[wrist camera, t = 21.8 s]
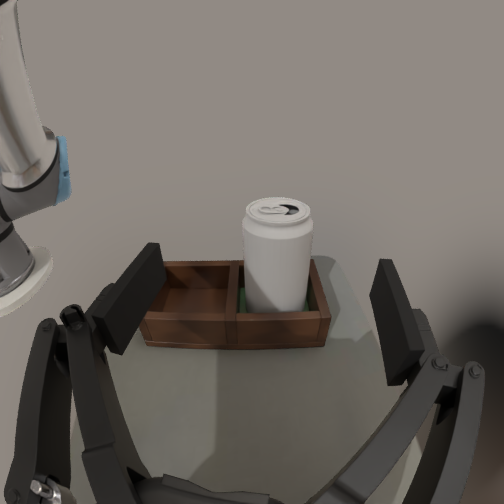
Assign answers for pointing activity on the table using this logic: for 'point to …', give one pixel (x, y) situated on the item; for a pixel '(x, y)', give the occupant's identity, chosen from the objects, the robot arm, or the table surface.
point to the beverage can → (276, 254)
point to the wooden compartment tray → (228, 311)
